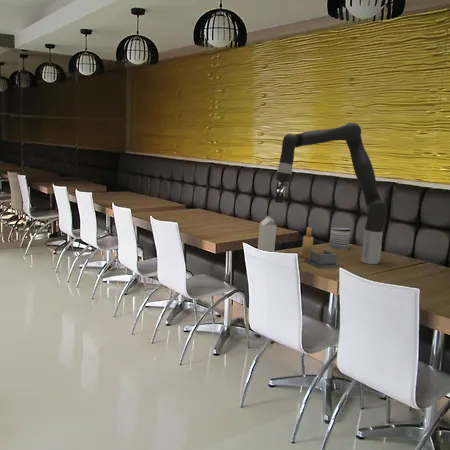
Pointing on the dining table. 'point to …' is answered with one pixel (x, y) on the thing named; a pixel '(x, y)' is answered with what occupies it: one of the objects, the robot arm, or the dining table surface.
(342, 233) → the can
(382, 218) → the robot arm
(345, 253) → the dining table surface
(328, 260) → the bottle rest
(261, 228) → the milk carton
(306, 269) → the dining table surface
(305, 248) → the amber bottle
